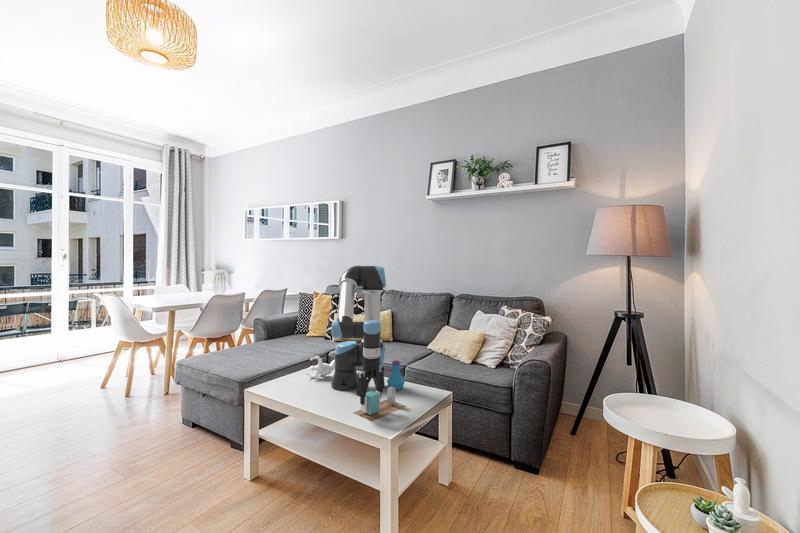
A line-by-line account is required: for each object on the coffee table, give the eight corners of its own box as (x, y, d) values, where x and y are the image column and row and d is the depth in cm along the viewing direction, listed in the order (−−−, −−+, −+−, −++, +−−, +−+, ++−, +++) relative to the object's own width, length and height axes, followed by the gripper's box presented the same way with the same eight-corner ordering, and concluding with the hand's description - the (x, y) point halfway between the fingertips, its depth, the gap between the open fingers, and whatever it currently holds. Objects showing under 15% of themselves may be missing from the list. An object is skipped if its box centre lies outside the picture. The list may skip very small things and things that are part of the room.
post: (387, 405, 168) (387, 387, 168) (391, 403, 170) (391, 386, 170) (391, 406, 167) (391, 389, 167) (395, 405, 169) (395, 387, 168)
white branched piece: (328, 353, 221) (310, 354, 205) (345, 360, 216) (328, 362, 200) (321, 373, 221) (303, 377, 204) (339, 381, 216) (321, 385, 199)
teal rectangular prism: (362, 411, 159) (362, 393, 159) (370, 407, 163) (371, 390, 162) (370, 414, 155) (370, 397, 155) (379, 411, 159) (379, 393, 159)
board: (352, 415, 159) (352, 412, 159) (388, 401, 176) (388, 399, 176) (371, 423, 151) (371, 421, 151) (406, 408, 167) (406, 406, 167)
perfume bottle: (402, 393, 186) (403, 364, 186) (385, 391, 188) (385, 363, 187) (405, 387, 195) (406, 359, 195) (389, 385, 197) (389, 358, 196)
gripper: (359, 362, 148) (358, 418, 149) (393, 354, 163) (392, 404, 164) (347, 359, 153) (347, 413, 154) (382, 350, 168) (381, 400, 169)
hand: (370, 408), depth 159 cm, fingers open, 7 cm apart
